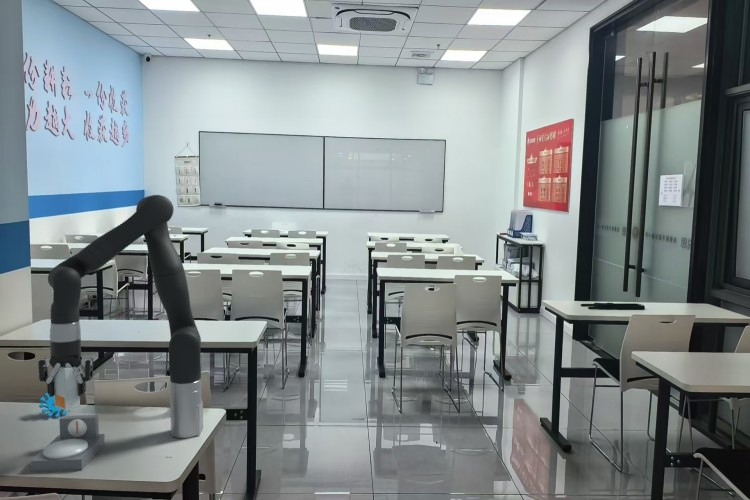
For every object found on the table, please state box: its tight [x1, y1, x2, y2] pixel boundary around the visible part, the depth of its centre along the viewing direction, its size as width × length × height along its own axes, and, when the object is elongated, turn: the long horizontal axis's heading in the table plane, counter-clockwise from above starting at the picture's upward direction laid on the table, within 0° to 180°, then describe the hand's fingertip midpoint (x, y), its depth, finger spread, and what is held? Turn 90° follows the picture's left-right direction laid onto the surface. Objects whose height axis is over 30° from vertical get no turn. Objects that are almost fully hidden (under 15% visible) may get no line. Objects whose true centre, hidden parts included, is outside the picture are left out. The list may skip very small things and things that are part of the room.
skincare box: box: [54, 366, 81, 412], centre depth 161 cm, size 6×4×12 cm
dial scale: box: [30, 414, 106, 473], centre depth 162 cm, size 13×17×9 cm
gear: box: [38, 392, 71, 419], centre depth 195 cm, size 11×6×10 cm
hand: (66, 395), depth 161 cm, fingers closed on skincare box, 7 cm apart
